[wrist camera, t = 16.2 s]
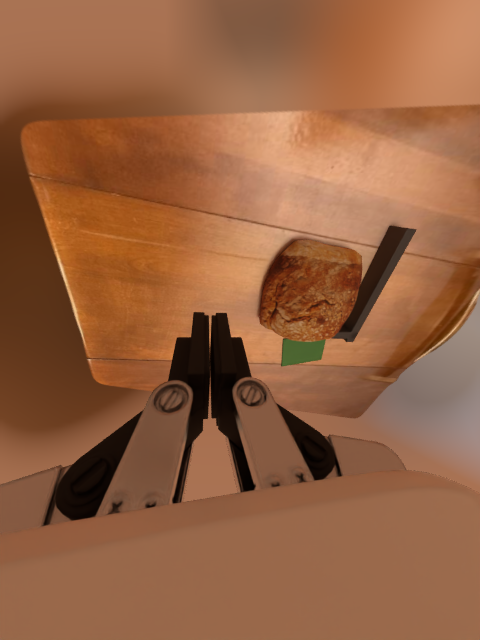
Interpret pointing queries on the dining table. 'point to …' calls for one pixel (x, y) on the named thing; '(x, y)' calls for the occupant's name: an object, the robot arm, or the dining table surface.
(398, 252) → the corner stop
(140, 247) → the dining table surface
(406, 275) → the dining table surface
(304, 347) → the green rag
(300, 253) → the bread
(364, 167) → the dining table surface
